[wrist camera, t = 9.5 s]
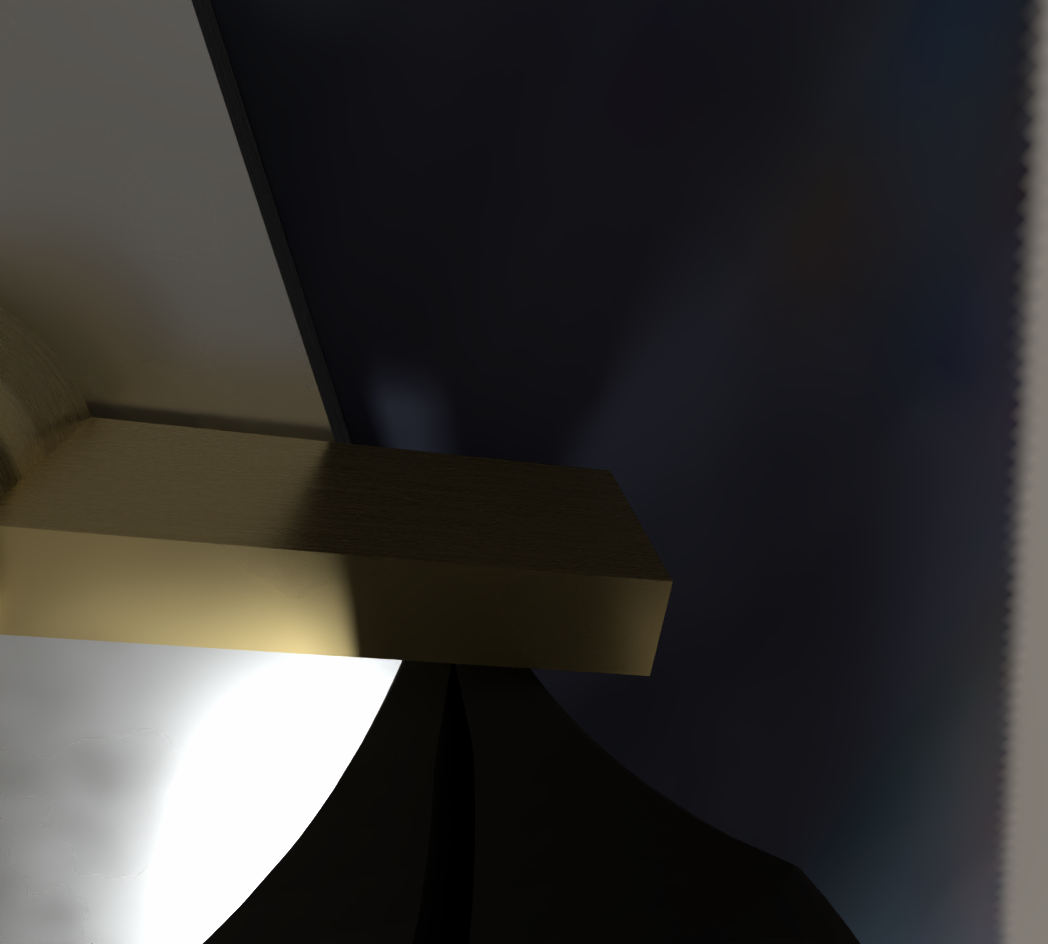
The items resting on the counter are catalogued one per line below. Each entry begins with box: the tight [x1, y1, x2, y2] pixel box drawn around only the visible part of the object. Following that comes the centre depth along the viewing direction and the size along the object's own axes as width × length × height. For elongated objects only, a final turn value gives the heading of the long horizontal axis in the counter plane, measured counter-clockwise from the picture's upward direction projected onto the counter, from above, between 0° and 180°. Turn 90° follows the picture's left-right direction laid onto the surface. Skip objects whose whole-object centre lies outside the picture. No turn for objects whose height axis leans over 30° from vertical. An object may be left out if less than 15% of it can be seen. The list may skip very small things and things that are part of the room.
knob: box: [0, 306, 673, 676], centre depth 10 cm, size 11×4×4 cm, turn 81°
